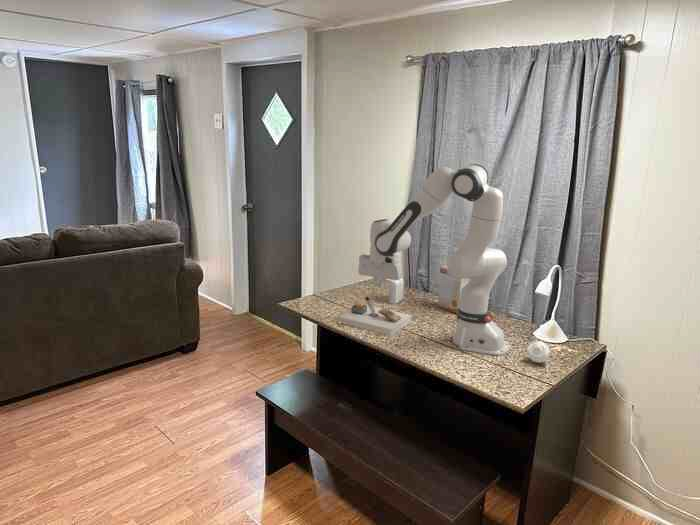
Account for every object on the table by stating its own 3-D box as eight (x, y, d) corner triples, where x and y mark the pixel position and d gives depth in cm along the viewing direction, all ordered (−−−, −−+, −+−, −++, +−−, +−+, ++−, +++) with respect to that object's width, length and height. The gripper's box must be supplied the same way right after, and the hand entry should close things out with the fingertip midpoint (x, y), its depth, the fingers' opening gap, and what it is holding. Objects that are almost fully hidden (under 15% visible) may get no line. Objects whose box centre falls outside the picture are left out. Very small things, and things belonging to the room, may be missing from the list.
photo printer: (396, 297, 251) (397, 275, 247) (403, 299, 248) (405, 276, 245) (387, 303, 242) (388, 279, 239) (395, 305, 240) (396, 281, 237)
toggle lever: (376, 311, 217) (369, 295, 217) (374, 313, 215) (367, 296, 215) (372, 312, 218) (365, 296, 218) (370, 314, 216) (363, 297, 216)
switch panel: (410, 321, 219) (411, 309, 217) (390, 336, 202) (391, 322, 201) (361, 310, 232) (361, 298, 230) (339, 322, 215) (339, 310, 214)
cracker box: (466, 312, 231) (470, 270, 226) (458, 315, 228) (461, 272, 223) (445, 304, 243) (448, 264, 237) (437, 306, 239) (440, 265, 234)
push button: (364, 307, 221) (364, 303, 220) (360, 309, 218) (360, 305, 217) (358, 305, 222) (358, 301, 222) (354, 307, 220) (354, 303, 219)
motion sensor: (523, 361, 181) (525, 342, 180) (530, 355, 187) (532, 336, 185) (544, 368, 177) (547, 348, 175) (551, 361, 182) (554, 342, 180)
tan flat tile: (400, 319, 213) (401, 316, 212) (395, 322, 209) (396, 320, 208) (383, 309, 216) (384, 307, 216) (378, 312, 212) (379, 310, 212)
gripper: (355, 254, 212) (355, 285, 215) (397, 260, 201) (396, 292, 204) (362, 252, 217) (362, 282, 220) (404, 257, 206) (403, 288, 210)
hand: (379, 287), depth 212 cm, fingers closed
